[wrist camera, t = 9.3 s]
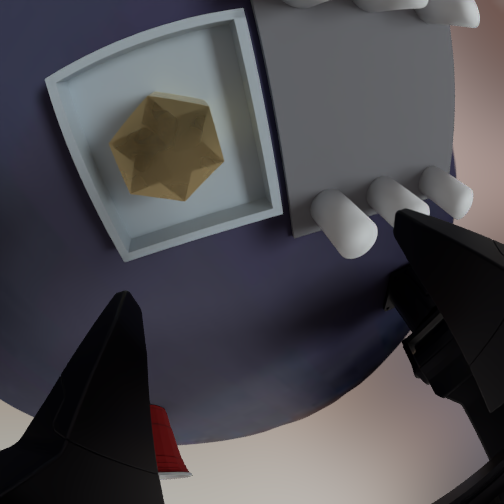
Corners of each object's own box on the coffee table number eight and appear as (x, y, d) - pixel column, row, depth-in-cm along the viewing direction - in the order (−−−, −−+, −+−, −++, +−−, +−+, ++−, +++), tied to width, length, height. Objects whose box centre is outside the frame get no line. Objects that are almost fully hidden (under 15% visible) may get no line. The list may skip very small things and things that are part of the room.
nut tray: (274, 200, 19) (283, 213, 18) (128, 245, 19) (124, 262, 17) (236, 14, 11) (243, 7, 10) (58, 77, 11) (44, 79, 9)
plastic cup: (149, 425, 40) (156, 484, 31) (102, 406, 33) (103, 476, 24) (196, 411, 39) (208, 479, 29) (149, 391, 32) (156, 474, 23)
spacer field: (443, 191, 23) (476, 216, 19) (292, 235, 22) (317, 276, 18) (440, -5, 10) (484, -3, 6) (241, -33, 9) (263, -64, 5)
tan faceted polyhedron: (222, 164, 17) (231, 186, 14) (147, 190, 16) (141, 217, 14) (197, 77, 13) (201, 77, 10) (115, 107, 13) (98, 117, 10)
